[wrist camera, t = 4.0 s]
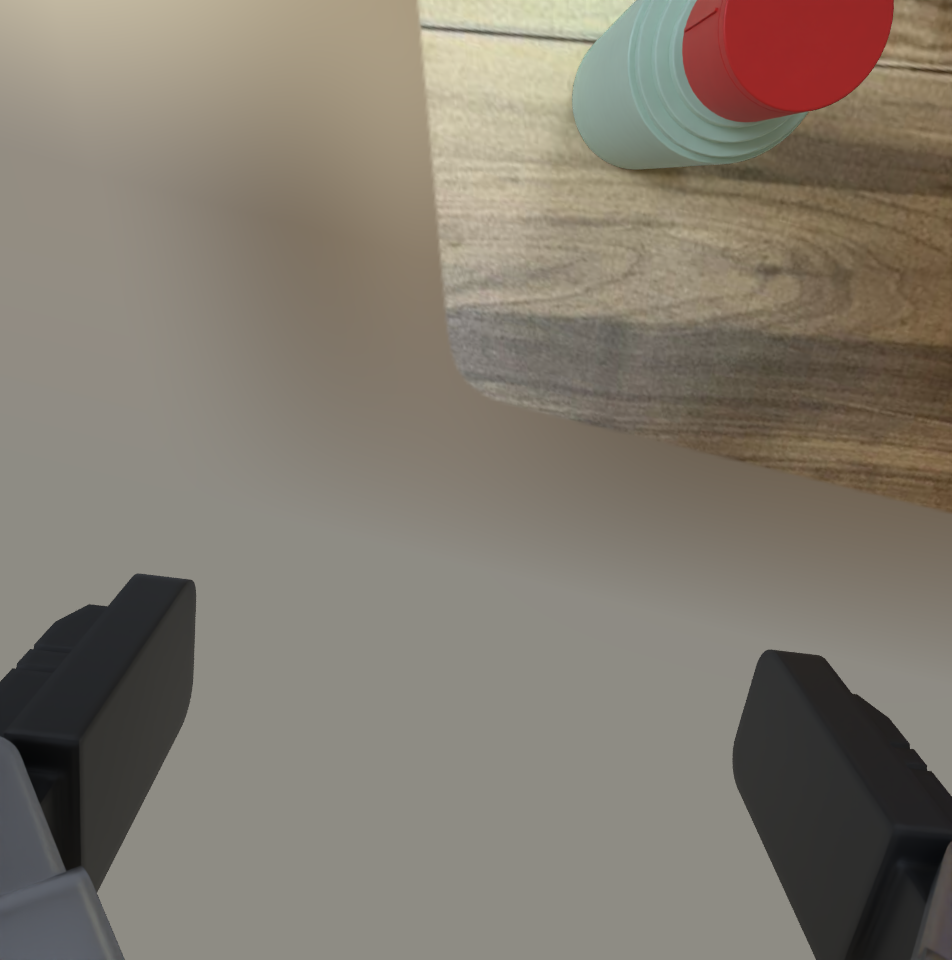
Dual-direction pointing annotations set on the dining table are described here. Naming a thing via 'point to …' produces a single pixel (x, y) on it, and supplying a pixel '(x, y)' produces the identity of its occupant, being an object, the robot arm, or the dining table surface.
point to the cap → (781, 53)
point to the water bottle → (658, 99)
